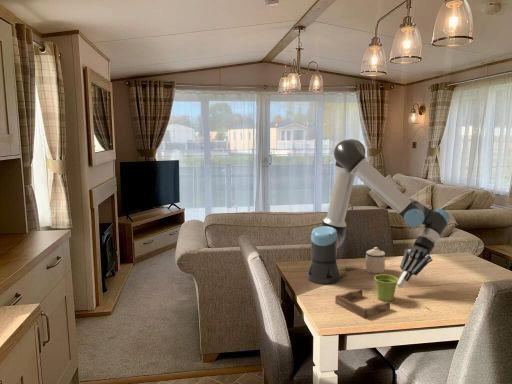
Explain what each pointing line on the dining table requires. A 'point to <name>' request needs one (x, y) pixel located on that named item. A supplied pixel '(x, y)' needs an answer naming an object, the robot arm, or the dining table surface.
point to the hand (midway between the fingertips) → (399, 285)
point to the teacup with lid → (375, 260)
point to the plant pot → (386, 286)
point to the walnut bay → (344, 302)
